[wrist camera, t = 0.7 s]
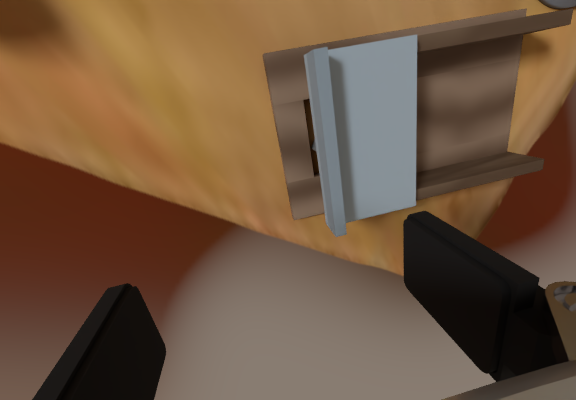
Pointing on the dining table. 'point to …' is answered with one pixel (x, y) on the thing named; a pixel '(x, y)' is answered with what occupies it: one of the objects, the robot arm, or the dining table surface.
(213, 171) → the dining table surface
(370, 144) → the sliding lid
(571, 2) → the round mat
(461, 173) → the game box
